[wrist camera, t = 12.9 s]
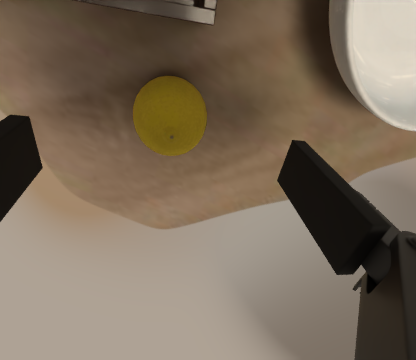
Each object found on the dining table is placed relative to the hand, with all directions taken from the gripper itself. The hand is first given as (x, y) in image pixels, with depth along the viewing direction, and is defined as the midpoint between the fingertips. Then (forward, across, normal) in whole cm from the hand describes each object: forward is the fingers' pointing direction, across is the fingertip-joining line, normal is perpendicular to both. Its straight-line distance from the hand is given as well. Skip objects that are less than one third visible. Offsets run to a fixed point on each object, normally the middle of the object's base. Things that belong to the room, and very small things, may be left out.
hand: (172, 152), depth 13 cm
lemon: (+11, 0, -1) cm, 11 cm away
